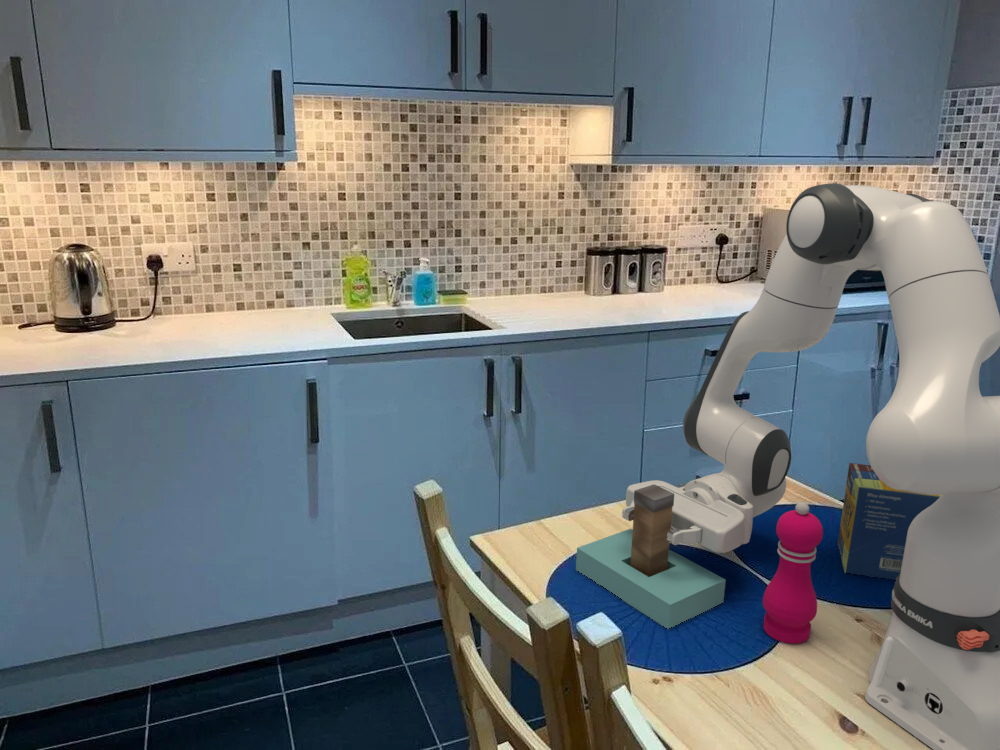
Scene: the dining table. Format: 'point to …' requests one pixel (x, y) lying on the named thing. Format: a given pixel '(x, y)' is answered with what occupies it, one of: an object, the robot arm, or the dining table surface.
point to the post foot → (651, 581)
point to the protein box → (876, 523)
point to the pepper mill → (793, 577)
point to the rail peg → (651, 529)
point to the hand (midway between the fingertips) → (647, 526)
